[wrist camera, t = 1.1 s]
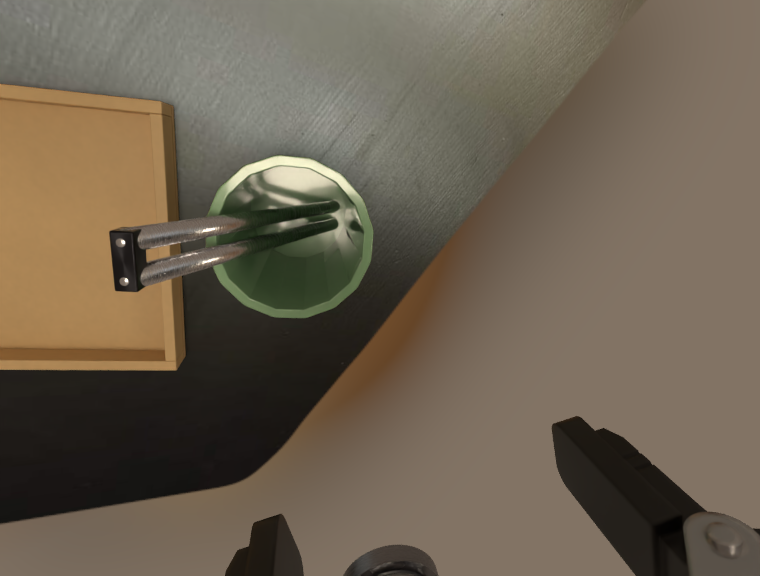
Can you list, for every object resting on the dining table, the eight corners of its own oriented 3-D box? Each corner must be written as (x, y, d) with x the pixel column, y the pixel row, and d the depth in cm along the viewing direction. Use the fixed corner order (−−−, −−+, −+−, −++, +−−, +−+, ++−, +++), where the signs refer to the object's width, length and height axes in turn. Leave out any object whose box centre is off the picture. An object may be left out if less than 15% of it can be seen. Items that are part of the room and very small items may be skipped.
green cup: (347, 263, 35) (366, 320, 23) (245, 258, 33) (207, 316, 21) (353, 162, 33) (379, 164, 20) (245, 152, 31) (202, 147, 19)
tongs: (338, 229, 33) (352, 303, 16) (226, 221, 32) (110, 293, 15) (339, 200, 33) (357, 245, 15) (225, 191, 31) (104, 229, 14)
